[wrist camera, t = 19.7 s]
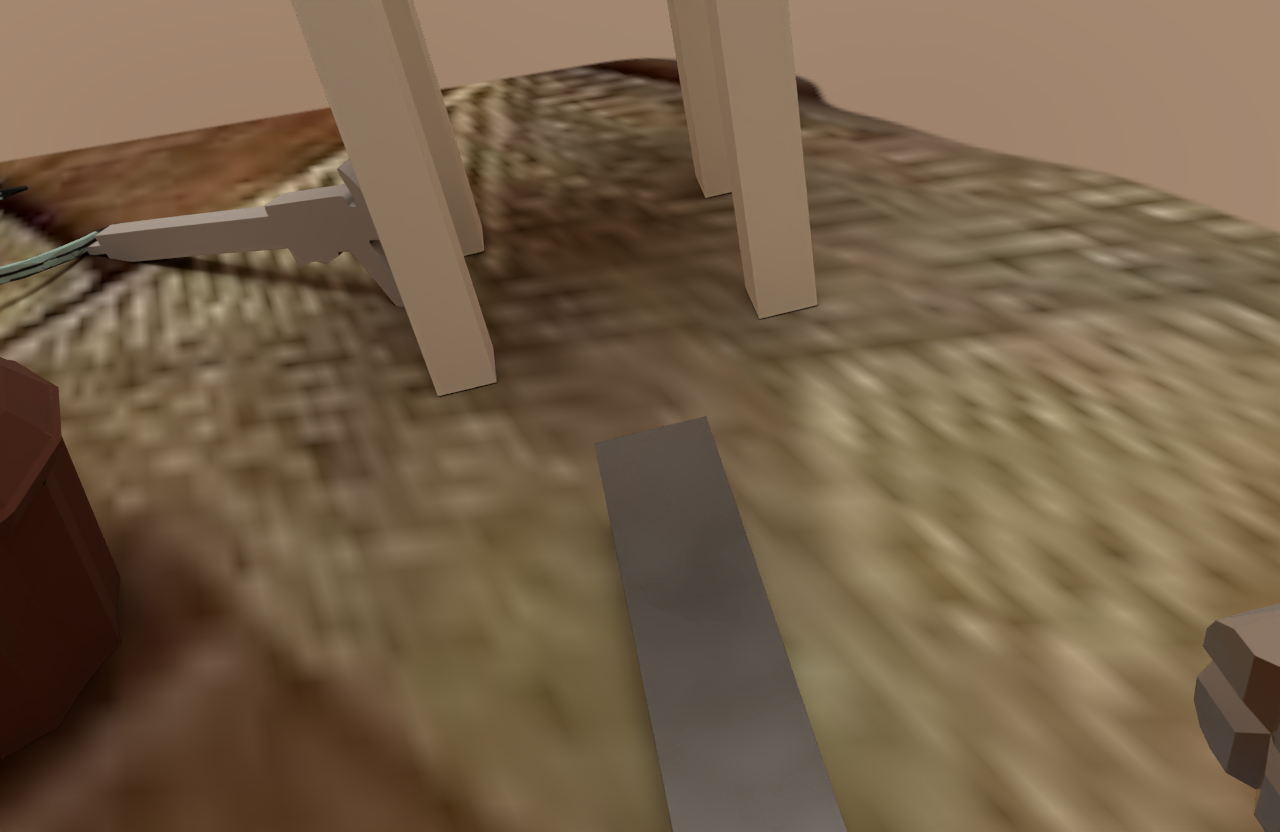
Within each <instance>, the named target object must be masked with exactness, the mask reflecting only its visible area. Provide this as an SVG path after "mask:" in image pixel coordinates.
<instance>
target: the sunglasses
mask: <svg viewBox="0 0 1280 832" xmlns="http://www.w3.org/2000/svg"><path fill="white" fill-rule="evenodd" d="M25 190H27V186H21V187H13V188H5V189H0V199H3V198H6V197H9V196H12V193H13V192H14V191H25ZM116 224H117V223H116ZM107 227H109V226H107ZM107 227H105V228H102V229H99V230H97V231H95V232H93V233H91V234H89V235H87V236H85V237H83V238H81V239H78V240H76V241H74V242H71V243H69V244H67V245H64V246H62V247H59V248H57V249H54V250H51V251H49V252H46V253H43V254H40V255H37V256H35V257H32V258H30V259H27V260H24V261H20V262H16V263H13V264H9V265H5V266H1V267H0V284H4V283H8V282H11V281H15V280H19V279H23V278H26V277H29V276H31V275H34V274H37V273H39V272H42V271H45V270H47V269H50V268H52V267H55V266H57V265H60V264H63V263H65V262H68V261H70V260H73V259H75V258H78V257H79V256H81V255H83V254H85V253H87V252H88V251H87V250H89V248H88V247H89V246H91V245H92V244H94V243H95V242H97V239H96V238H95V235H97V234H98V233H100V232H101V231H103V230H104V229H106V228H107Z"/></svg>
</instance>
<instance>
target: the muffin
mask: <svg viewBox="0 0 1280 832" xmlns="http://www.w3.org/2000/svg"><path fill="white" fill-rule="evenodd" d="M119 584H120V576H119V574H118V571H117V569H116V567H115V564H114V562H113V559H112V557H111V555H110V552H109V550H108V547H107V545H106V542H105V540H104V538H103V535H102V533H101V530H100V528H99V525H98V523H97V521H96V518H95V516H94V513H93V511H92V508H91V506H90V504H89V501H88V499H87V496H86V494H85V491H84V489H83V487H82V484H81V482H80V479H79V477H78V474H77V472H76V470H75V467H74V465H73V462H72V460H71V457H70V455H69V453H68V450H67V448H66V445H65V443H64V441H63V438H62V436H61V422H60V405H59V389H58V387H57V386H55V385H54V384H52V383H50V382H49V381H47V380H45V379H44V378H42V377H40V376H39V375H37V374H35V373H34V372H32V371H30V370H29V369H27V368H25V367H24V366H22V365H20V364H19V363H17V362H15V361H12V360H6V359H4V358H1V357H0V760H2V759H3V758H4V757H6V756H8V755H10V754H11V753H13V752H15V751H17V750H19V749H20V748H22V747H24V746H26V745H27V744H29V743H31V742H33V741H34V740H36V739H38V738H40V737H42V736H43V735H45V734H47V733H49V732H50V731H52V730H54V729H56V728H57V727H59V725H60V724H61V722H62V721H63V719H64V718H65V716H66V715H67V713H68V711H69V710H70V708H71V707H72V705H73V704H74V702H75V701H76V699H77V697H78V696H79V694H80V693H81V691H82V690H83V688H84V686H85V685H86V683H87V682H88V681H89V680H90V679H91V677H92V676H93V675H94V674H95V673H96V671H97V670H98V669H99V668H100V667H101V665H102V664H103V663H104V662H105V661H106V660H107V658H108V657H109V656H110V655H111V654H112V652H113V651H114V650H115V649H116V648H117V647H118V645H119V644H120V643H121V641H120V634H119V628H118V621H117V615H116V607H117V599H118V592H119Z"/></svg>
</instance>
